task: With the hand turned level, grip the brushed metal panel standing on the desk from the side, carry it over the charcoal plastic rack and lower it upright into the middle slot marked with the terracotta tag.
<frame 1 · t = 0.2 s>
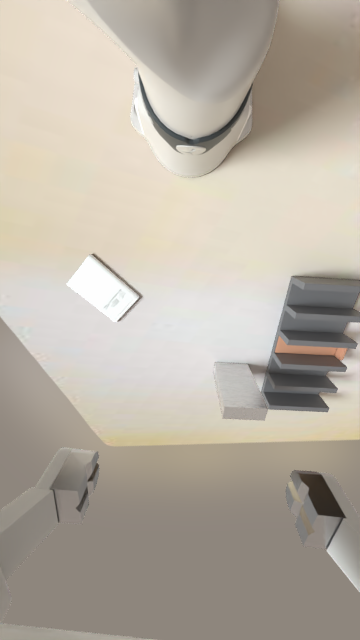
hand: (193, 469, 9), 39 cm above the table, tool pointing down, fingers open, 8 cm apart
external hard drive: (105, 288, 47), on the table
rack: (304, 343, 51), on the table
panel: (230, 368, 54), on the table
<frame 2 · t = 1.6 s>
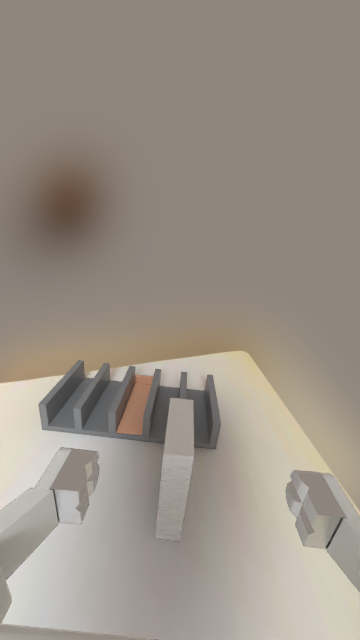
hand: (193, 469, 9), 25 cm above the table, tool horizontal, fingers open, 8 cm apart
rack: (137, 409, 45), on the table
panel: (170, 502, 30), on the table
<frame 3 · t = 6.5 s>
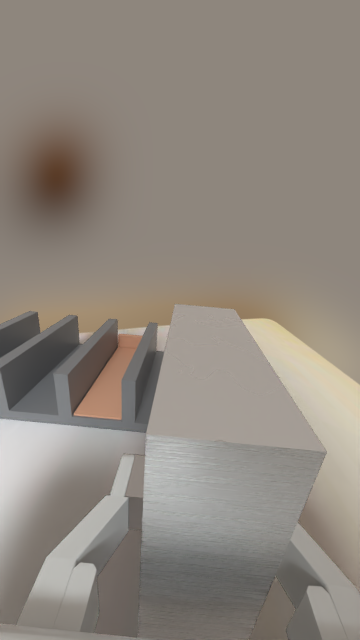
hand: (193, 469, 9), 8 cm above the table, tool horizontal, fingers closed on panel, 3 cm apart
rack: (119, 382, 27), on the table
panel: (178, 571, 12), on the table, touching gripper
when the fingers open (10 cm above the table, at t = 12.3 s): panel drops 1 cm, resting on rack.
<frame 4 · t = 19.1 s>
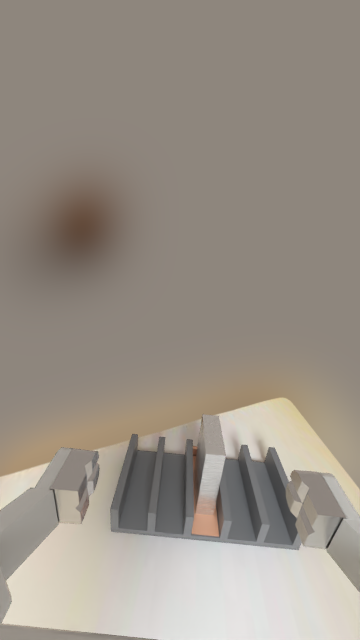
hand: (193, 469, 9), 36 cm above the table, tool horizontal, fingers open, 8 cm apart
rack: (202, 493, 42), on the table
panel: (202, 489, 42), point 1 cm above the table, touching rack
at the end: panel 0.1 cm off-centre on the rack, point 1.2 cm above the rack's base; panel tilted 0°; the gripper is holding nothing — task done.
